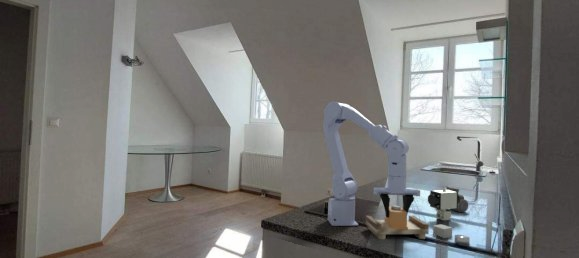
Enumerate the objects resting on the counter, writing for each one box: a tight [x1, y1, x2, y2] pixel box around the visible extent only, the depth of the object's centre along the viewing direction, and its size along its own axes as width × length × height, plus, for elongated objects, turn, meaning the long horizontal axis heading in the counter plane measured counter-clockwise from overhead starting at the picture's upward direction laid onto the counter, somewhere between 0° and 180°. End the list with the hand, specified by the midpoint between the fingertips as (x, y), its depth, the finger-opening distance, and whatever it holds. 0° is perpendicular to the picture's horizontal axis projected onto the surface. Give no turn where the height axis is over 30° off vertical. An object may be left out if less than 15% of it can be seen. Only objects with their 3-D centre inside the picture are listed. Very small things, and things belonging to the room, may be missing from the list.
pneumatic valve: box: [427, 187, 460, 222], centre depth 121 cm, size 6×12×12 cm, turn 108°
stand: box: [365, 215, 430, 240], centre depth 103 cm, size 17×10×4 cm, turn 95°
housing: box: [384, 205, 408, 230], centre depth 103 cm, size 5×10×6 cm, turn 174°
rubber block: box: [432, 223, 453, 239], centre depth 102 cm, size 4×4×3 cm
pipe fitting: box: [446, 185, 469, 214], centre depth 136 cm, size 12×8×10 cm
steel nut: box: [454, 234, 471, 246], centre depth 95 cm, size 4×4×2 cm
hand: (396, 217), depth 103 cm, fingers closed on housing, 5 cm apart
